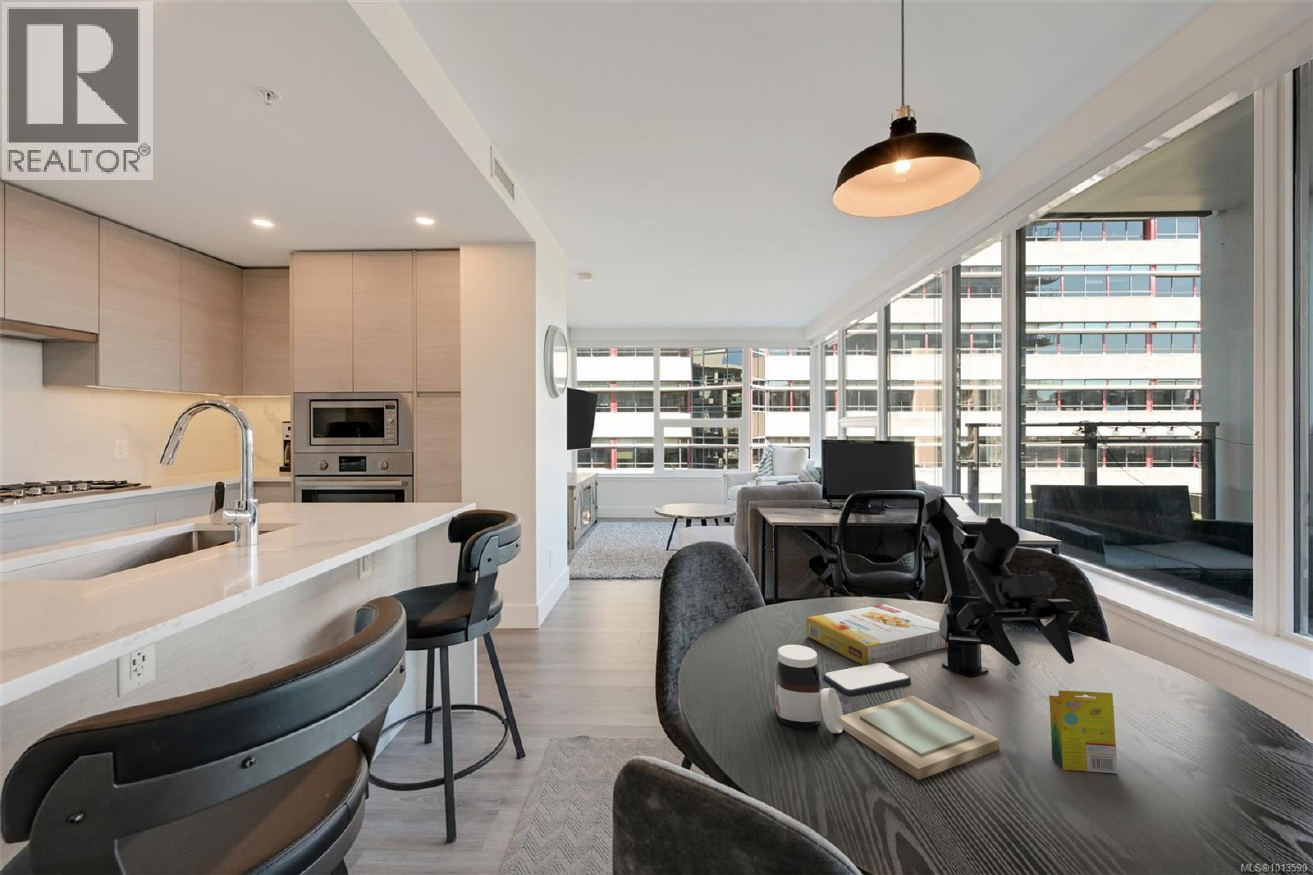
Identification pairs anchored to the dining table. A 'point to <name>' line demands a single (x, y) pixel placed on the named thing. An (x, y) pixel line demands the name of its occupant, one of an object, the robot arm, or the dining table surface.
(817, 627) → the cereal box
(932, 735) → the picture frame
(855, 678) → the smartphone
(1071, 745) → the crayon box
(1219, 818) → the dining table surface
